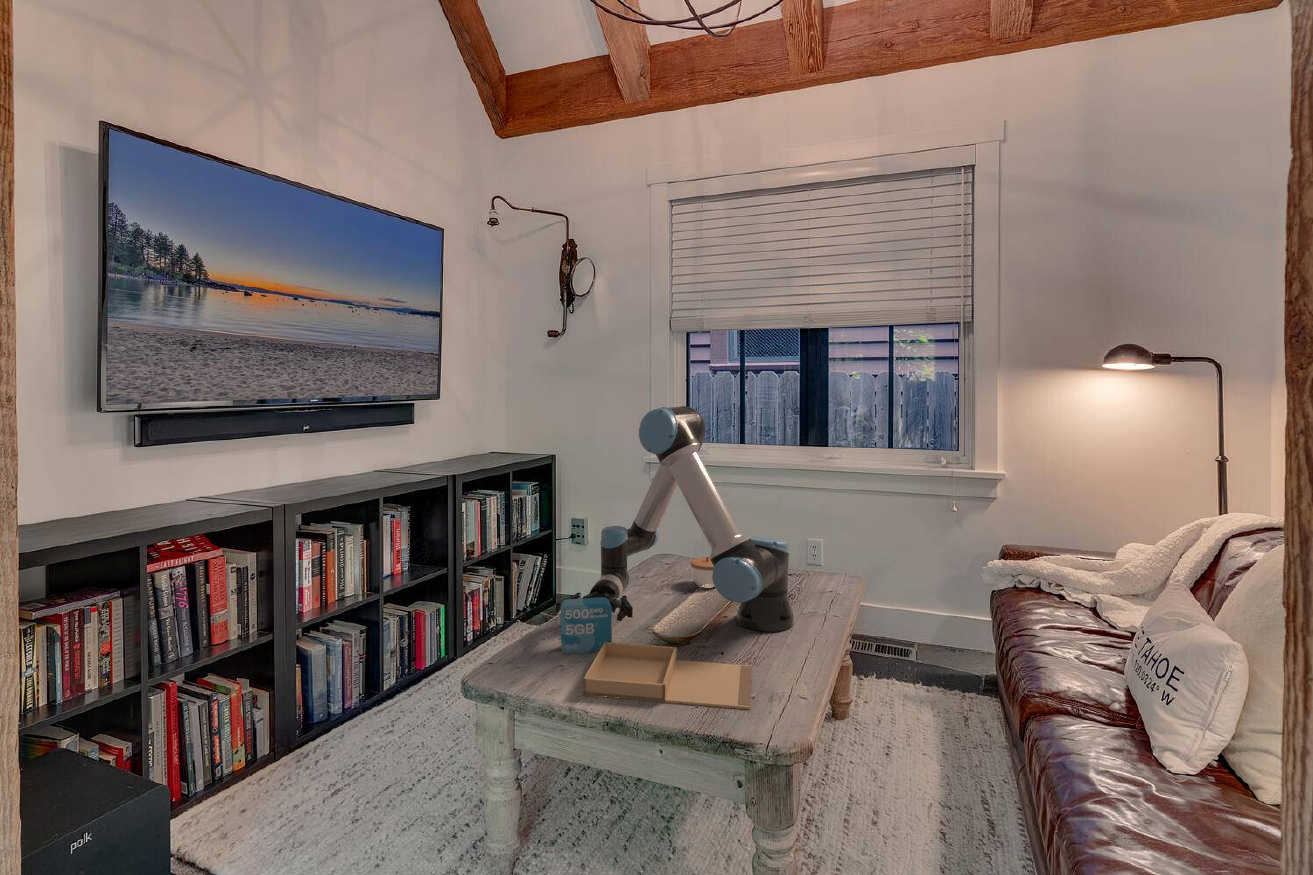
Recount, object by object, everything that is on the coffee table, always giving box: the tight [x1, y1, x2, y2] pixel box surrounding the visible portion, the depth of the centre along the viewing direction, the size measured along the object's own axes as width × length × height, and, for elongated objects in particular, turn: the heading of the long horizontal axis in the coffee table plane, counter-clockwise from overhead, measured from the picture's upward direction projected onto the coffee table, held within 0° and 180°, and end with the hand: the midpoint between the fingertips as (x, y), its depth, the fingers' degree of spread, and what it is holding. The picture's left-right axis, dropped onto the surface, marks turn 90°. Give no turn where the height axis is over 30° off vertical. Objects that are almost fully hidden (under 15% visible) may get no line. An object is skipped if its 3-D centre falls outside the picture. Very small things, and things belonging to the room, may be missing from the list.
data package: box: [560, 597, 613, 655], centre depth 161 cm, size 12×4×12 cm, turn 101°
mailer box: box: [582, 642, 752, 710], centre depth 145 cm, size 34×19×4 cm, turn 81°
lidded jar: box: [690, 556, 714, 588], centre depth 210 cm, size 11×11×9 cm
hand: (585, 621), depth 160 cm, fingers closed on data package, 13 cm apart
